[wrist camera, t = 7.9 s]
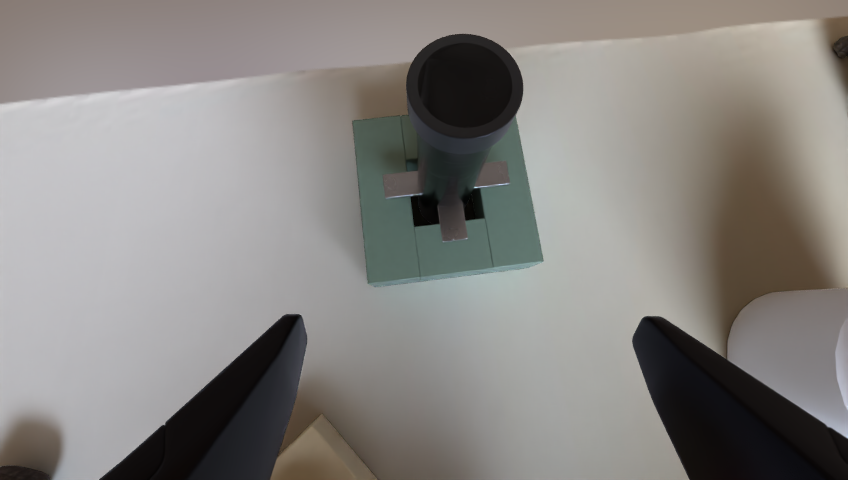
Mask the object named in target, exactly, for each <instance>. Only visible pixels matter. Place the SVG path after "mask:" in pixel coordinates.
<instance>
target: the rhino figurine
mask: <svg viewBox="0 0 848 480" xmlns="http://www.w3.org/2000/svg"><path fill="white" fill-rule="evenodd" d="M833 48H834V50H835V51H836V52H837V55H838V56H839V57H841V58H844V57H846V56H848V36H845V37H842V38H840V39H839V40H838V41H837V42H836V43H835V44H834V47H833Z"/></svg>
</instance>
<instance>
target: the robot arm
mask: <svg viewBox="0 0 848 480" xmlns="http://www.w3.org/2000/svg"><path fill="white" fill-rule="evenodd" d="M632 343H633V348H634V350H635V353H636V356H637V359H638V362H639V365H640V367H641V370H642V373H643V376H644V379H645V382H646V384H647V387H648V390H649V393H650V395H651V398H652V400H653V403H654V405H655V407H656V410H657V412H658V414H659V416H660V418H661V420H662V422H663V424H664V427H665V429H666V431H667V433H668V435H669V437H670V439H671V441H672V444H673V446H674V448H675V450H676V452H677V454H678V456H679V458H680V460H681V463H682V465H683V467H684V469H685V471H686V473H687V475H688V477H689V480H848V438H846V437H845V436H843V435H842V434H840V433H839V432H837V431H836V430H834V429H832V428H831V427H827V425H826V424H825V423H823V422H822V421H820V420H819V419H817V418H816V417H814V416H812V415H811V414H809V413H808V412H806V411H805V410H803V409H802V408H800V407H799V406H797V405H796V404H794V403H793V402H791V401H790V400H788V399H786V398H785V397H783V396H782V395H780V394H779V393H777V392H776V391H774V390H773V389H771V388H770V387H768V386H767V385H765V384H764V383H762V382H761V381H759V380H757V379H756V378H754V377H753V376H751V375H750V374H748V373H747V372H745V371H744V370H742V369H741V368H739V367H738V366H736V365H735V364H733V363H732V362H730V361H728V360H727V359H725V358H724V357H722V356H721V355H719V354H718V353H716V352H715V351H713V350H712V349H710V348H709V347H707V346H706V345H704V344H703V343H701V342H699V341H698V340H696V339H695V338H693V337H692V336H690V335H689V334H687V333H686V332H684V331H683V330H681V329H680V328H678V327H677V326H675V325H673V324H672V323H670V322H669V321H667V320H666V319H664V318H663V317H659V316H646V317H644V318H642V319H641V321H640V323H639V325H638V327H637V329H636V331H635V333H634V335H633V339H632ZM306 346H307V333H306V329H305V325H304V322H303V318H302V316H301V315H299V314H286V315H284V316H282V317H281V318H280V319H279V320H278V321H277V322H276V323H275V324H273V325H272V326H271V327H270V328H269V329H268V330H267V331H266V332H265V333H264V334H262V335H261V336H260V337H259V338H258V339H257V340H256V341H255V342H254V343H253V344H251V345H250V346H249V347H248V348H247V349H246V350H245V351H244V352H243V353H241V354H240V355H239V356H238V357H237V358H236V359H235V360H234V361H233V362H232V363H230V364H229V365H228V366H227V367H226V368H225V369H224V370H223V371H222V372H220V373H219V374H218V375H217V376H216V377H215V378H214V379H213V380H212V381H211V382H209V383H208V384H207V385H206V386H205V387H204V388H203V389H202V390H201V391H199V392H198V393H197V394H196V395H195V396H194V397H193V398H192V399H191V400H190V401H188V402H187V403H186V404H185V405H184V406H183V407H182V408H181V409H180V410H178V411H177V412H176V413H175V414H174V415H173V416H172V417H171V418H170V419H169V420H167V421H166V423H165V425H162V426H161V427H160V428H158V429H157V430H156V431H155V432H154V433H153V434H152V435H151V436H150V437H148V438H147V439H146V440H145V441H144V442H143V443H142V444H141V445H139V446H138V447H137V448H136V449H135V450H134V451H133V452H131V453H130V454H129V455H128V456H127V457H126V458H125V459H123V460H122V461H121V462H120V463H119V464H117V465H116V466H115V467H114V468H113V469H111V470H110V471H109V472H108V473H106V474H105V475H104V476H103V477H102V478H100V479H99V480H270V478H271V475H272V472H273V469H274V466H275V463H276V460H277V457H278V453H279V450H280V447H281V444H282V441H283V438H284V435H285V432H286V428H287V425H288V422H289V419H290V416H291V413H292V410H293V406H294V403H295V400H296V395H297V391H298V386H299V381H300V376H301V371H302V366H303V361H304V356H305V351H306Z"/></svg>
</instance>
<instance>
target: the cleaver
mask: <svg viewBox="0 0 848 480" xmlns="http://www.w3.org/2000/svg"><path fill="white" fill-rule="evenodd" d="M0 480H50V477H49V475H47V474H45V473H43V472H41V471H37V470H33V469H29V468H25V467H20V466H2V467H0Z"/></svg>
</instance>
